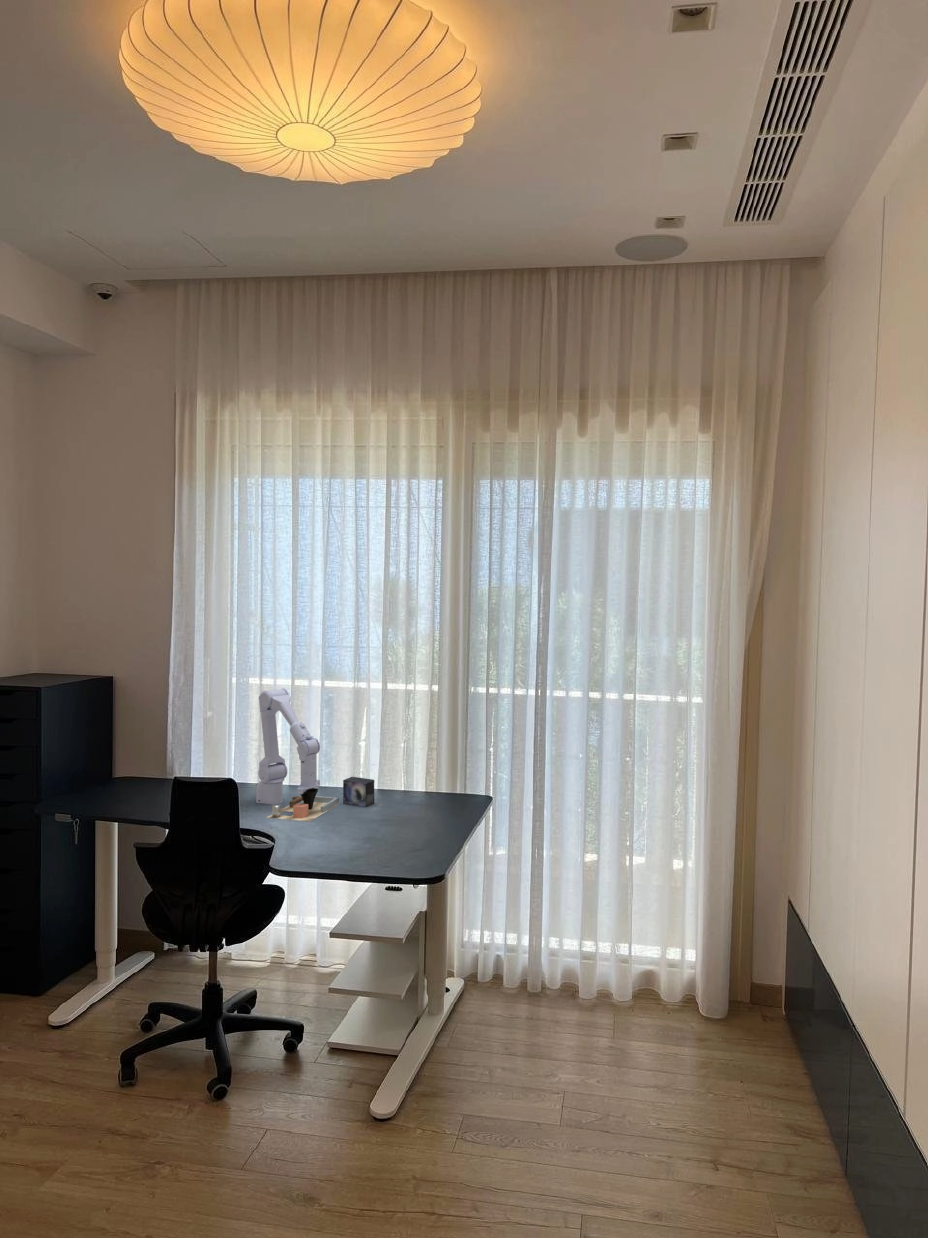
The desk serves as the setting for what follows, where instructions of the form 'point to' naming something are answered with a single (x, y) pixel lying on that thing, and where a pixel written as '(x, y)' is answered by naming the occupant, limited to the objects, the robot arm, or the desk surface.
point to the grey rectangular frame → (328, 800)
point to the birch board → (311, 813)
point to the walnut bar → (295, 800)
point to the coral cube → (300, 810)
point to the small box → (358, 791)
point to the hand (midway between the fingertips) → (308, 809)
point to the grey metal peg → (276, 811)
